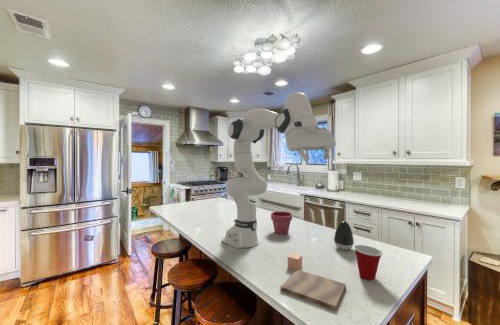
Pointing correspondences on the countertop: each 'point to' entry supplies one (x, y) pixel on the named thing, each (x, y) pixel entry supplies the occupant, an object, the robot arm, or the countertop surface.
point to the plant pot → (281, 221)
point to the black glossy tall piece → (344, 236)
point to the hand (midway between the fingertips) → (317, 159)
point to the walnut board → (314, 289)
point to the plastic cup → (367, 261)
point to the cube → (295, 261)
